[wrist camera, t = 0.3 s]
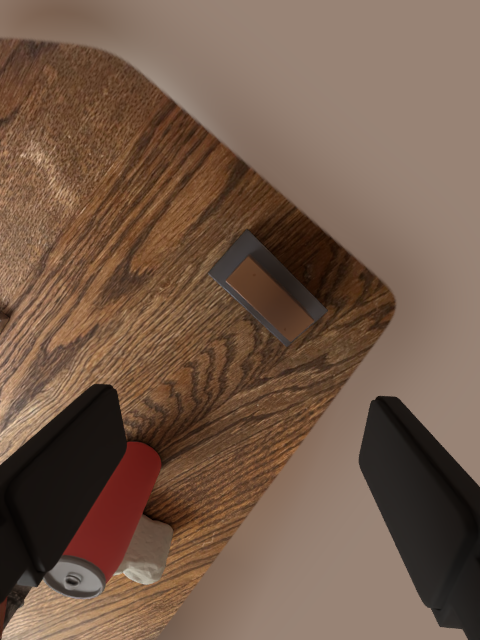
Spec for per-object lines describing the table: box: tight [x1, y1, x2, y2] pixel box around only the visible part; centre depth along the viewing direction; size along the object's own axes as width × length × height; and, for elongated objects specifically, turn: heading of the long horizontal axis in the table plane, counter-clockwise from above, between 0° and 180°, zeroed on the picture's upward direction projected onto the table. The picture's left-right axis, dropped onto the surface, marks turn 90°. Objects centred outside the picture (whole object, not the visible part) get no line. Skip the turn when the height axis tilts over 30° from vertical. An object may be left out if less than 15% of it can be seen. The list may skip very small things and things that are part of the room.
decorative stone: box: [113, 514, 173, 585], centre depth 32 cm, size 11×9×10 cm
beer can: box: [43, 441, 161, 599], centre depth 25 cm, size 7×7×12 cm
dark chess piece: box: [2, 583, 32, 632], centre depth 32 cm, size 6×6×12 cm
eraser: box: [208, 229, 328, 347], centre depth 20 cm, size 10×5×6 cm, turn 47°
